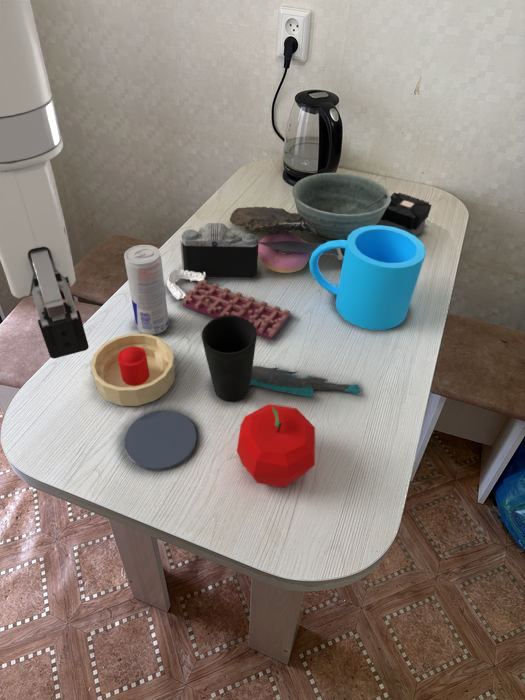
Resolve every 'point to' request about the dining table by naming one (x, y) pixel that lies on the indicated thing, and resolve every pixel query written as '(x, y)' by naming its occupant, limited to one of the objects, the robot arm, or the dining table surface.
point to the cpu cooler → (406, 213)
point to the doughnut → (282, 254)
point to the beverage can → (147, 288)
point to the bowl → (339, 203)
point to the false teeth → (179, 273)
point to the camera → (219, 252)
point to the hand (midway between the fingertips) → (60, 318)
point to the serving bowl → (110, 374)
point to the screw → (377, 200)
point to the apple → (276, 445)
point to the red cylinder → (133, 365)
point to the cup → (230, 355)
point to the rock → (270, 220)
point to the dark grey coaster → (160, 440)
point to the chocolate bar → (236, 308)
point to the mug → (374, 275)
